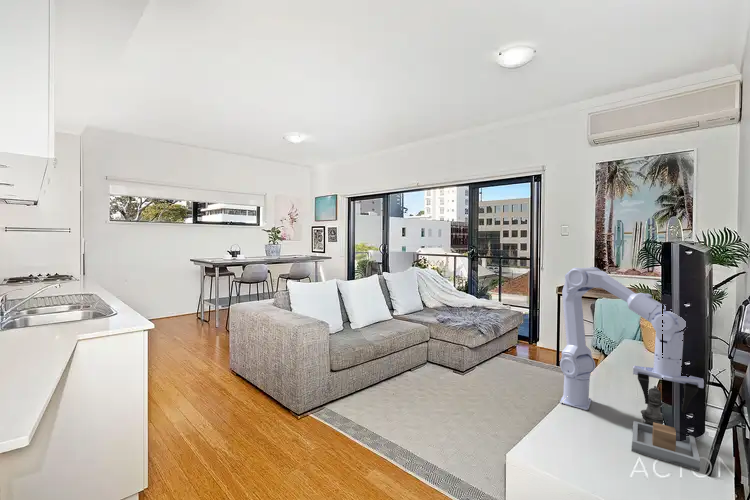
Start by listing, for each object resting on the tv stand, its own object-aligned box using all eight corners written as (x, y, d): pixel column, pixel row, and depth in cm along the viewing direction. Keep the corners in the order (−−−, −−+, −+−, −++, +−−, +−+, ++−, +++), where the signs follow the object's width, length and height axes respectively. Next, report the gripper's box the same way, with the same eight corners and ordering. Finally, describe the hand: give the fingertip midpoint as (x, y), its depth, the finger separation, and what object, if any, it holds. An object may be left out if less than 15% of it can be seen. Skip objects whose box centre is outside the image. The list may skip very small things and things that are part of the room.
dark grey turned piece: (654, 433, 103) (657, 390, 102) (634, 422, 108) (637, 382, 108) (670, 430, 104) (673, 389, 103) (650, 420, 110) (652, 380, 109)
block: (652, 438, 98) (653, 422, 98) (673, 444, 96) (675, 427, 95) (652, 446, 95) (653, 429, 94) (675, 452, 92) (676, 435, 92)
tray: (632, 429, 104) (633, 420, 104) (693, 446, 97) (694, 436, 97) (631, 450, 94) (632, 441, 94) (699, 471, 86) (700, 460, 86)
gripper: (633, 354, 98) (630, 404, 99) (706, 367, 90) (703, 421, 91) (634, 347, 104) (631, 395, 105) (703, 359, 96) (699, 410, 96)
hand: (664, 406), depth 98 cm, fingers open, 7 cm apart
